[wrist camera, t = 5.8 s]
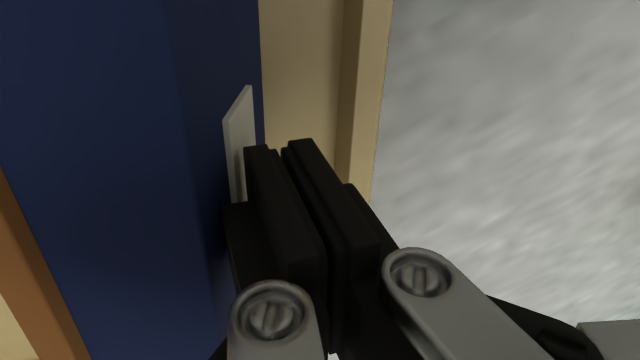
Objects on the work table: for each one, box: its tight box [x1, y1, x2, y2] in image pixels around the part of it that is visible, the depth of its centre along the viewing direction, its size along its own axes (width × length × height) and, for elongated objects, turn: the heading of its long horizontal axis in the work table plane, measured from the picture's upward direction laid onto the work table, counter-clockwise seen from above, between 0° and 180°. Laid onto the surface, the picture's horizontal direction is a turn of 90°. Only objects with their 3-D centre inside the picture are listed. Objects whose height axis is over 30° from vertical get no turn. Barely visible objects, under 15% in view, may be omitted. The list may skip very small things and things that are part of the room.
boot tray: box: [0, 0, 393, 360], centre depth 13 cm, size 23×18×2 cm
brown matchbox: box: [0, 0, 265, 360], centre depth 10 cm, size 13×5×6 cm, turn 179°
